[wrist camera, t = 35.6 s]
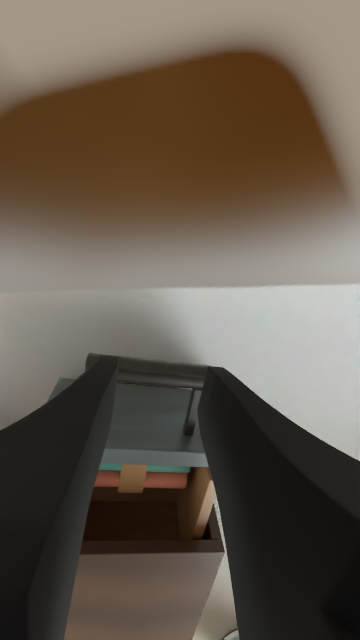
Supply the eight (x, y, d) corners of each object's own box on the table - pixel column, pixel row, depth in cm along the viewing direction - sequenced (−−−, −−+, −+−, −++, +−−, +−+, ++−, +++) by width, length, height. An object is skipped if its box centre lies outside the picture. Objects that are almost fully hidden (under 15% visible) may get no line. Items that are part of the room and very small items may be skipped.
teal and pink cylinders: (186, 427, 22) (193, 460, 19) (179, 458, 23) (184, 494, 20) (85, 420, 20) (74, 455, 17) (82, 454, 21) (72, 492, 18)
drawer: (61, 317, 18) (21, 363, 12) (231, 338, 20) (265, 386, 14) (56, 494, 24) (26, 583, 18) (188, 497, 26) (200, 577, 20)
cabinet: (53, 446, 23) (8, 556, 16) (202, 453, 26) (225, 552, 18) (50, 545, 28) (14, 667, 20) (177, 544, 30) (187, 652, 23)
